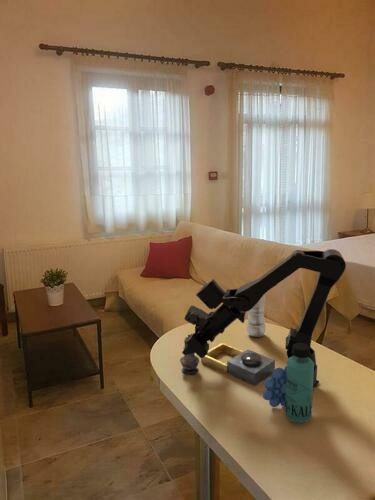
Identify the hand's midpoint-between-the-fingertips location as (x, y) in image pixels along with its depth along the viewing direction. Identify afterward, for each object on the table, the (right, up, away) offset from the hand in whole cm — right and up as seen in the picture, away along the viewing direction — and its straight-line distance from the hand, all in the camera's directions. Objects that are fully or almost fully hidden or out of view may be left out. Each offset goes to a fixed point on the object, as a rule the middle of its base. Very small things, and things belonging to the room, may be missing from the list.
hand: (184, 350), depth 118 cm
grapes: (+26, -10, -16) cm, 32 cm away
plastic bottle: (+26, -1, +23) cm, 34 cm away
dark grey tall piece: (+2, -7, +1) cm, 7 cm away
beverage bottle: (+28, -11, -22) cm, 37 cm away
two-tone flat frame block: (+16, -6, +3) cm, 17 cm away
